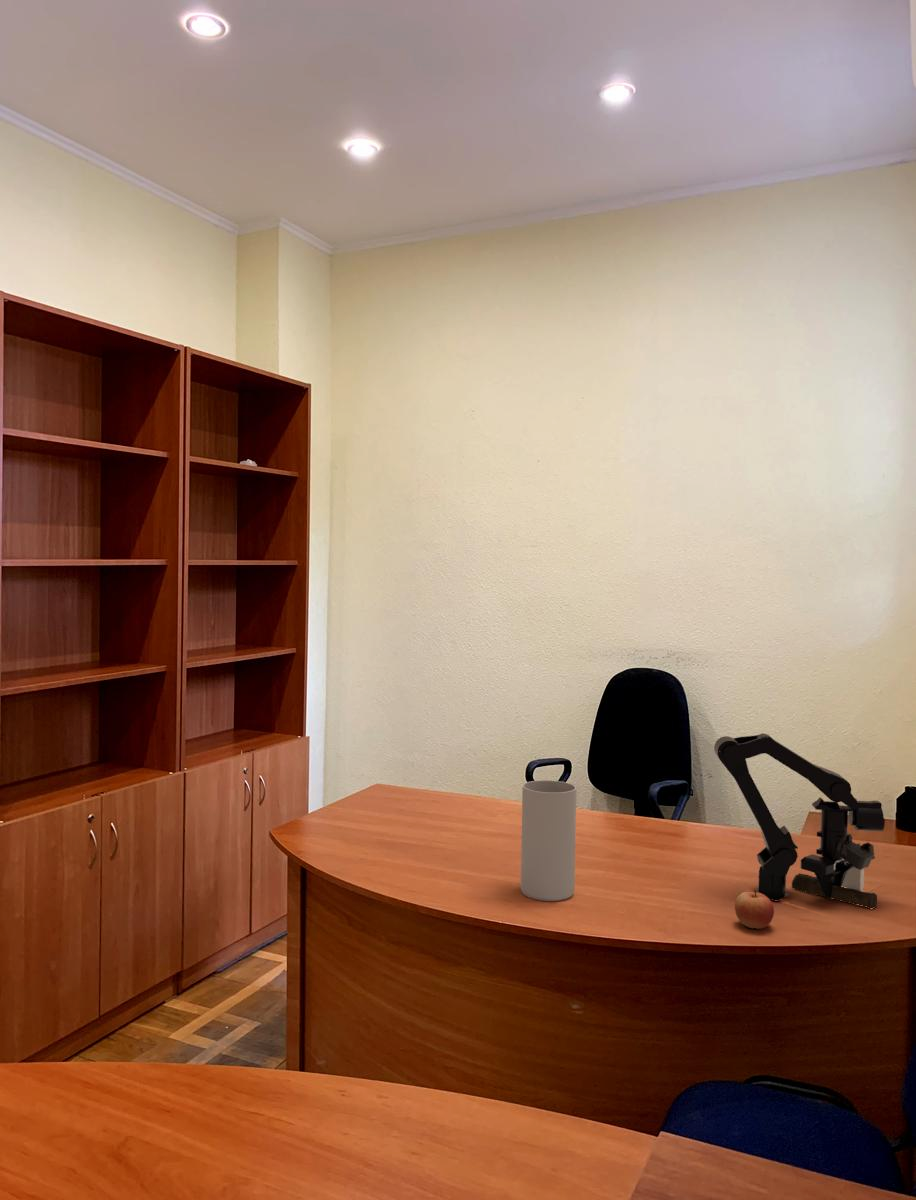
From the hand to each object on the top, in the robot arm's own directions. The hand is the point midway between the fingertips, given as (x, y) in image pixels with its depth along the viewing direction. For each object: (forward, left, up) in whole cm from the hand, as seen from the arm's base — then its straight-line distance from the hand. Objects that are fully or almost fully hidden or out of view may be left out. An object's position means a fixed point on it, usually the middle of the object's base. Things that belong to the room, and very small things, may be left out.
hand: (832, 895), depth 210 cm
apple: (-29, +2, -1) cm, 29 cm away
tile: (+9, +1, 0) cm, 9 cm away
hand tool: (-1, 0, -2) cm, 2 cm away
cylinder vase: (-50, +43, -1) cm, 66 cm away
